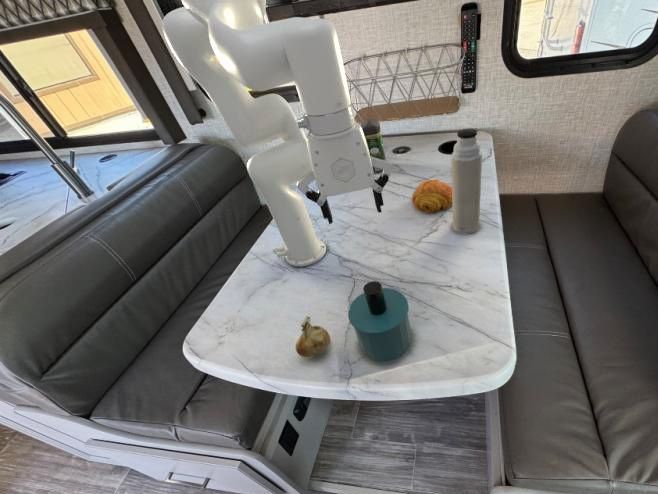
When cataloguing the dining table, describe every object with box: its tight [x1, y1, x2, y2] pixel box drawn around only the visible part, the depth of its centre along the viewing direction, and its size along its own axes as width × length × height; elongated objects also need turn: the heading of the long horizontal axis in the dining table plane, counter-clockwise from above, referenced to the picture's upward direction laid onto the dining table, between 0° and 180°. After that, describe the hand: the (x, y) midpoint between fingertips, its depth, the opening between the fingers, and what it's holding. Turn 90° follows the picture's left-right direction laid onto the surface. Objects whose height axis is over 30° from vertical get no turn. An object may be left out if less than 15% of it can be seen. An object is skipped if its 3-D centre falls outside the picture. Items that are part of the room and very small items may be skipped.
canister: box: [353, 313, 412, 363], centre depth 72 cm, size 11×11×10 cm
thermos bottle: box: [450, 127, 483, 234], centre depth 94 cm, size 8×8×28 cm
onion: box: [295, 315, 331, 358], centre depth 74 cm, size 8×8×8 cm
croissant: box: [411, 179, 453, 214], centre depth 114 cm, size 14×16×8 cm
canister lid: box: [347, 280, 410, 334], centre depth 66 cm, size 12×12×7 cm
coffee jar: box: [360, 118, 387, 173], centre depth 135 cm, size 10×8×19 cm
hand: (354, 214), depth 65 cm, fingers open, 9 cm apart
